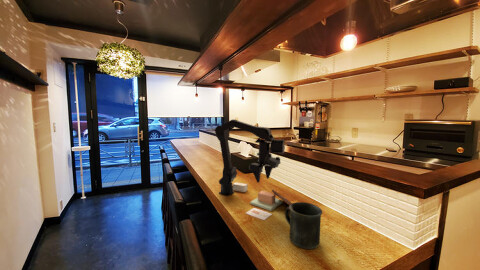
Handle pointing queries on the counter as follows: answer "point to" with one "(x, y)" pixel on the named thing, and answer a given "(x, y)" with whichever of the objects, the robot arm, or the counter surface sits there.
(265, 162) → the robot arm
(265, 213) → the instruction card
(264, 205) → the baseplate
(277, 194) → the wooden tablet
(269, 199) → the terracotta brick
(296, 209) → the mug
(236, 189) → the cream brick
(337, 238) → the counter surface
